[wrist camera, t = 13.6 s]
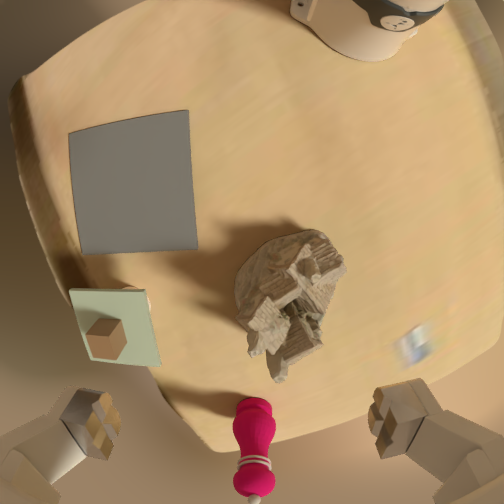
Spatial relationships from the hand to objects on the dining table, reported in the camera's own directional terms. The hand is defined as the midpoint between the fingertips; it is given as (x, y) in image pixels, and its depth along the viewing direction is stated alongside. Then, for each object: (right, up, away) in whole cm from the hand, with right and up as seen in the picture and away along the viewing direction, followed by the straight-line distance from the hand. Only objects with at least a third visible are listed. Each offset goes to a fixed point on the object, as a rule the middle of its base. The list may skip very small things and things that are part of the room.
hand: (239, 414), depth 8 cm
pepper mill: (+1, -23, +40) cm, 46 cm away
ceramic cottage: (+6, -1, +33) cm, 34 cm away
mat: (-16, +13, +28) cm, 35 cm away
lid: (-17, -5, +27) cm, 32 cm away
